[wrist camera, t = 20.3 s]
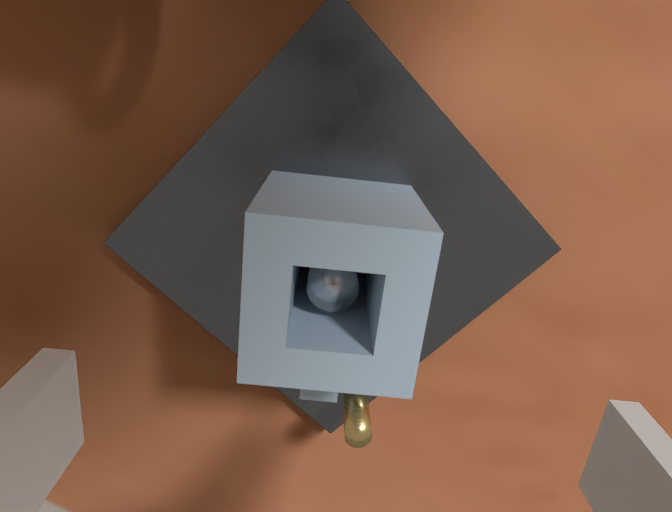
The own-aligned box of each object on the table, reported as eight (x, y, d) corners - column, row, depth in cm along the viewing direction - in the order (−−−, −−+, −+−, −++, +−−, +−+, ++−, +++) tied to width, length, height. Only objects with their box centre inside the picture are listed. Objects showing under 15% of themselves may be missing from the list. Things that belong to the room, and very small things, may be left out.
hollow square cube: (272, 170, 25) (245, 212, 17) (411, 185, 25) (443, 233, 18) (258, 368, 29) (232, 473, 21) (379, 379, 29) (394, 486, 22)
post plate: (336, -8, 23) (337, -37, 17) (553, 243, 27) (616, 292, 21) (111, 237, 27) (46, 284, 21) (330, 422, 31) (329, 507, 25)
